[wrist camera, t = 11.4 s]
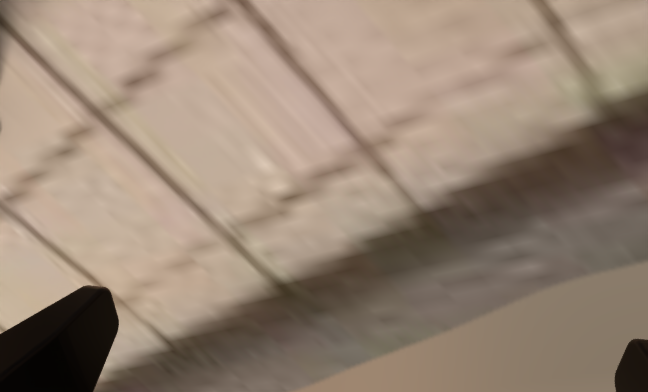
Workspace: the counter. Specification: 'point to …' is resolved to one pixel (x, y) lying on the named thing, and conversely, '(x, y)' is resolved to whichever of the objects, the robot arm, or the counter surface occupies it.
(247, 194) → the counter surface
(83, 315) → the robot arm
